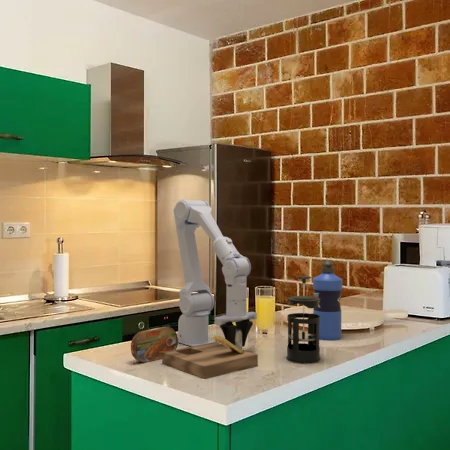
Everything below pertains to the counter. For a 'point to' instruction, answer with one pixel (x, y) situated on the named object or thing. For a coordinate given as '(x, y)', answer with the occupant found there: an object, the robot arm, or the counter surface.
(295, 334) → the french press
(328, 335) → the water bottle
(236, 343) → the peg
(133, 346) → the tin
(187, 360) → the pin plate
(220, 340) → the keeper flap
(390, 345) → the counter surface
